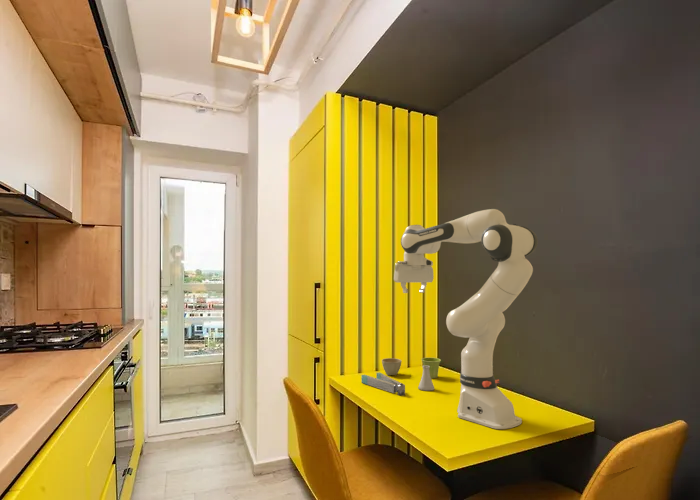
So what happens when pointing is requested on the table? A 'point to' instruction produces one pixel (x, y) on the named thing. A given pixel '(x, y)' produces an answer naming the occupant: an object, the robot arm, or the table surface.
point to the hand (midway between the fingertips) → (413, 292)
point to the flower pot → (391, 365)
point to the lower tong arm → (387, 379)
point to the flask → (426, 380)
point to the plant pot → (432, 366)
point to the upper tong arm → (379, 383)
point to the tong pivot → (401, 389)
